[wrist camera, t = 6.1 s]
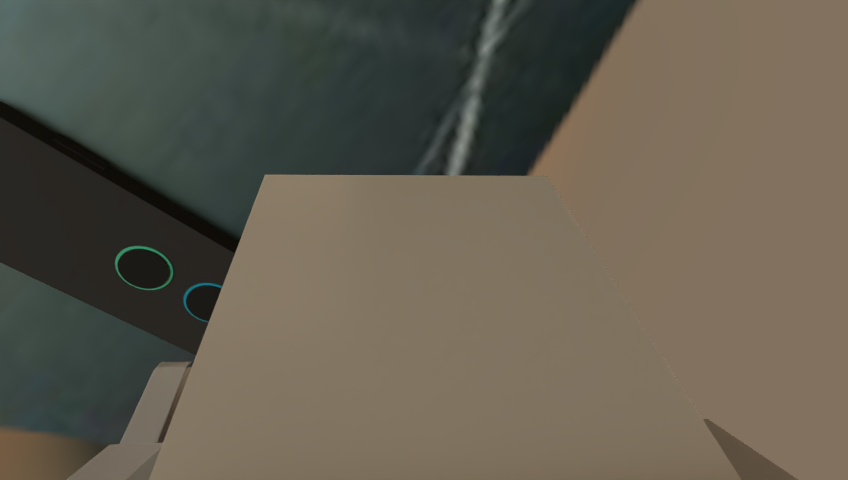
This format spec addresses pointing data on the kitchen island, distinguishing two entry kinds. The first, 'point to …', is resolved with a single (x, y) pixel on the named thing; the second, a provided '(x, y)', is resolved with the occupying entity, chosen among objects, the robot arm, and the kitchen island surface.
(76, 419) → the kitchen island surface
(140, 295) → the smart home device
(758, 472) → the robot arm
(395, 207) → the cream tea tin
